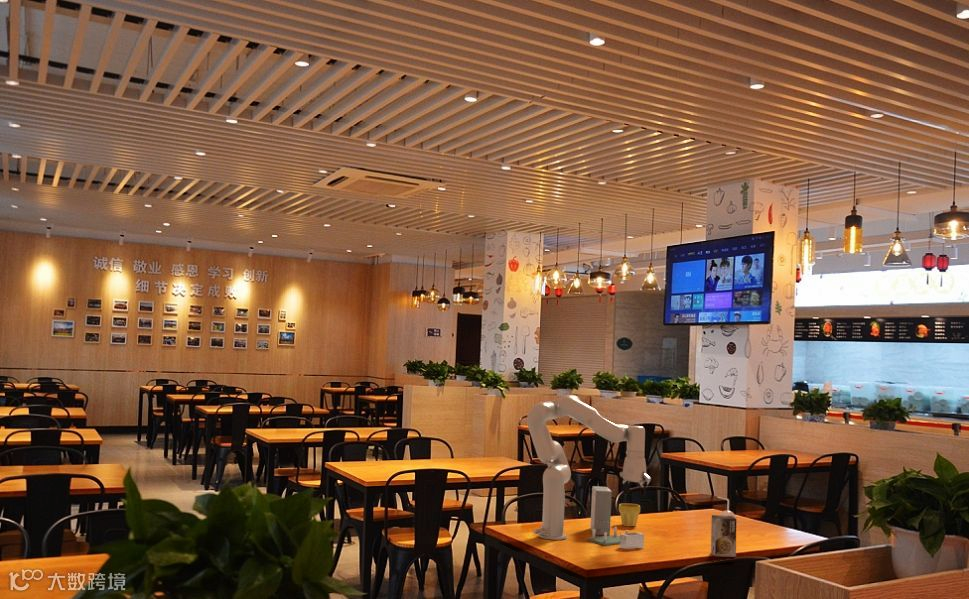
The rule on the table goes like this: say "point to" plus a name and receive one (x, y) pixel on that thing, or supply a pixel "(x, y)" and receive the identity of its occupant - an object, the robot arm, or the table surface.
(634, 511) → the plant pot
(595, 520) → the hard drive box
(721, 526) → the coffee box
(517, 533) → the table surface
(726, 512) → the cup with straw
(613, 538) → the pin tray
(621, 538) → the white open box
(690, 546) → the table surface
